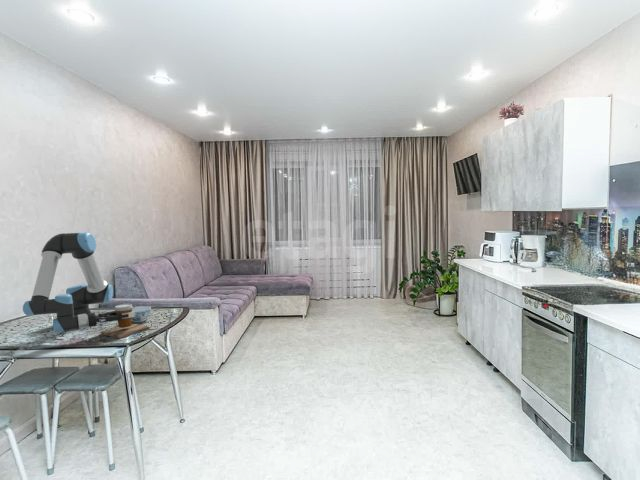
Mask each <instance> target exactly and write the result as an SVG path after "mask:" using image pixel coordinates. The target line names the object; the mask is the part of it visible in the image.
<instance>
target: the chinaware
mask: <svg viewBox="0 0 640 480" xmlns="http://www.w3.org/2000/svg"><path fill="white" fill-rule="evenodd" d="M151 311H152V307H151V306H148V305H141V306H140V305H139V306H133V308H132V312H135V317H132V321H131V322H132V323H133V324H138V323H142V322H145V321H146V319H147V318H148V316H149V315H150V313H151Z"/></svg>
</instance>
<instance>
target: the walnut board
mask: <svg viewBox="0 0 640 480" xmlns="http://www.w3.org/2000/svg"><path fill="white" fill-rule="evenodd" d="M149 330H150V326H147V325H142V324H138V323H134V322H131V326H129V327H125V328H119V326H115V327H112V328H109V329H106V330H102V331H100V334H101V335H103V336H107V337H112V338H114V339H119V338H120V339H123V338H127V337H129V336H132V335H135V334H138V333H141V332H146V331H149ZM122 337H123V338H122Z"/></svg>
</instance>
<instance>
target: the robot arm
mask: <svg viewBox="0 0 640 480" xmlns="http://www.w3.org/2000/svg"><path fill="white" fill-rule="evenodd" d="M96 242H97V240H96V238H95V236H94V235H93V234H92V233H90V232H84V231H81V232H70V233H69V232H67V233H58V234H56V235H54V236H52V237H51V238H50V239H49V240H48V241H47V242H46V243H45V245H44V246H43V248H42V249H41V252H40V253H41V254H40V255H41V261H40V266H39V270H38V274H37V276H36V281H35V284H34V287H33V291H32V295H31V299H30V300H27V301H24V303H23V304H22V311H23V314H25V316H39V315H50V314H52V315H53V314H56V318H53V319H52V326H53V327H52V329H53V332H54V333H57V334H58V333H64V332H65V333H66V332H69V331H74V330H84V329H85V328H92V327H96V326H97V323H101V324H103V323H107V322H109V323H110V322H116V321H117V320H122V319H124V318H130V317H135V312H129V313H123V314H120V315H116V312H115V310H113V311H107V312H103V313H98V314H96V312H92V311H91V309H90V306H89V305H98V304H108V303H111V301H112V300H113V295H114V286H113V285H112V284H108V282H107V281H106V280H105V279H103V276H102V274H101V272H100V271H101V270H100V268H99V266H98V263H97V261H96V258H95V256H94V253H95V251H96V250H97V243H96ZM64 254H71V255H72V257H73V259H76V260H77V262H78V265H79V267H80V269H81V271H82V274H83V276H84V279H85V281H86V283H87V284H86V283H81V284H78V285H73V286H70V287H67V288H66V289H65V290H66V291H65V293H63V294H57V295H55V296H54V298H52V299H50V294H51V291H52V287H53V283H54V279H55V275H56V273H57V272H56V271H57V268H58V263H59V260H61V259H62V257H63V255H64ZM117 322H118V321H117Z"/></svg>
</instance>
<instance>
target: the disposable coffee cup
mask: <svg viewBox="0 0 640 480" xmlns="http://www.w3.org/2000/svg"><path fill="white" fill-rule="evenodd" d="M133 307H134V306H133V304H132V303H123V304H117V305H115V306H114V308H113V309H114V310H113V311H115V312H116V315H120V314H123V313H129V312H132V308H133ZM132 322H133V321H132V317H130V318H124V319H122V320H117V325H118V327H119V328H125V327H129V326H131V323H132Z"/></svg>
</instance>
